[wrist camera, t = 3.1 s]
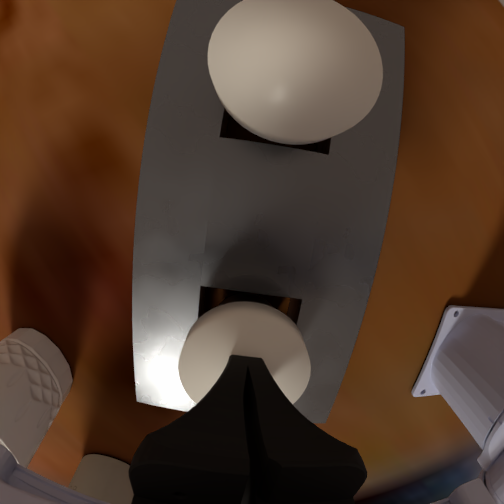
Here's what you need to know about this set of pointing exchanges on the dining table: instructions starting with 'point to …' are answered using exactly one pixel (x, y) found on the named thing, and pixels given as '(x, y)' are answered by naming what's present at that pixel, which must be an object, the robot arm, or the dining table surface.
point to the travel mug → (103, 479)
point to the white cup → (30, 390)
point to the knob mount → (256, 215)
